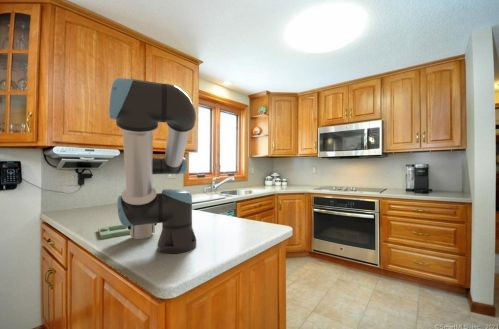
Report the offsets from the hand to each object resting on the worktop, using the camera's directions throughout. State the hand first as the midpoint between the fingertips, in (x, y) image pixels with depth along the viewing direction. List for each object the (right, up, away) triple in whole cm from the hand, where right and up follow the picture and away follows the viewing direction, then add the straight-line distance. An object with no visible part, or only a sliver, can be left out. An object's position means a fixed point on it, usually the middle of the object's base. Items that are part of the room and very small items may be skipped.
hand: (142, 234), depth 107 cm
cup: (0, -1, 0) cm, 1 cm away
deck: (-17, -1, +6) cm, 18 cm away
